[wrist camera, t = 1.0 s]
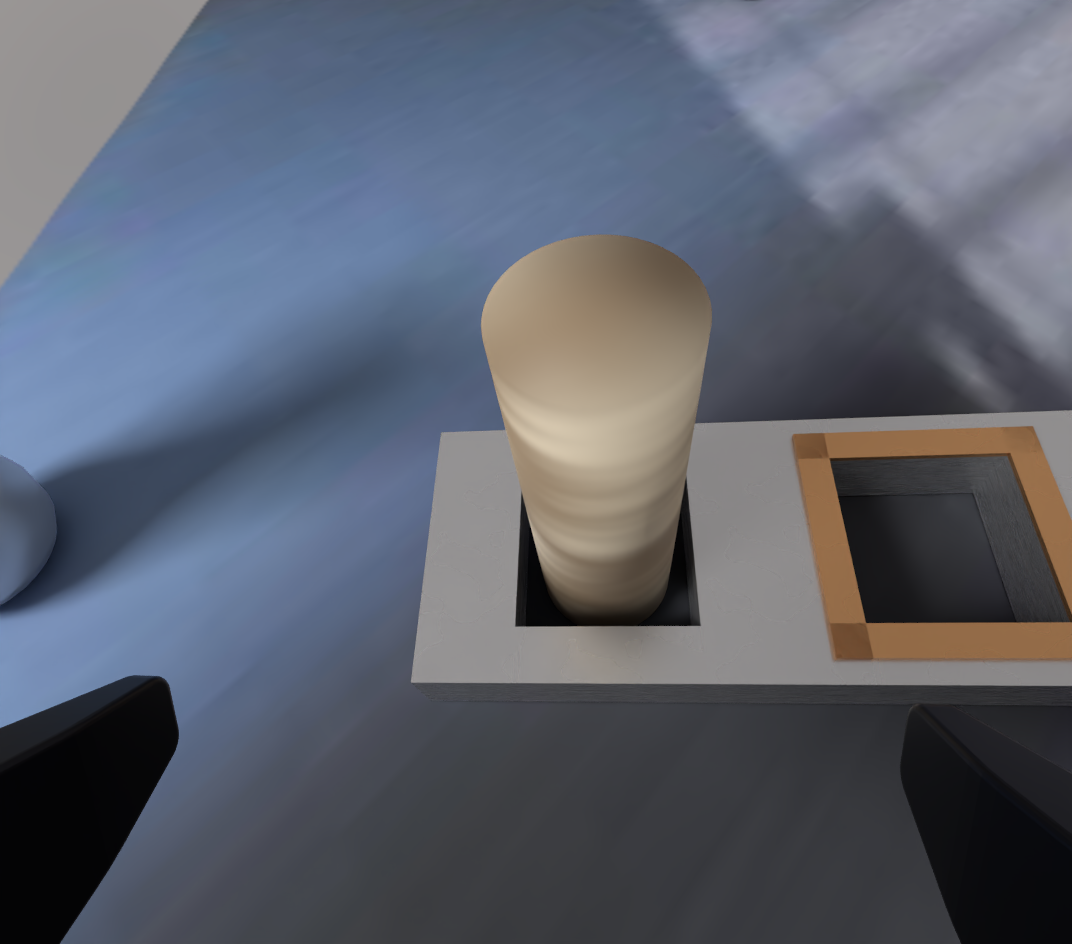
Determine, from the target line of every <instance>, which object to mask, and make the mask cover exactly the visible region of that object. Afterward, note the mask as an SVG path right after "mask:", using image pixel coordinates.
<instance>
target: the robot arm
mask: <svg viewBox="0 0 1072 944" xmlns="http://www.w3.org/2000/svg"><path fill="white" fill-rule="evenodd" d="M178 739H179V730H178V724H177V720H176V715H175V710H174V705H173V701H172V696H171V691H170V687H169V684H168V683H167V681H166V680H165V679H164V678H162V677H160V676H140V675H133V676H128V677H125V678H123V679H120V680H118V681H115V682H113V683H110V684H108V685H105V686H103V687H101V688H98V689H96V690H93V691H91V692H88V693H86V694H83V695H81V696H78V697H76V698H73V699H71V700H69V701H66V702H64V703H61V704H59V705H56V706H54V707H51V708H49V709H46V710H44V711H41V712H39V713H36V714H34V715H32V716H29V717H27V718H24V719H22V720H19V721H17V722H14V723H12V724H9V725H7V726H4V727H2V728H0V944H60V943H61V941H62V940H63V938H64V937H65V935H66V934H67V932H68V931H69V929H70V928H71V926H72V925H73V923H74V922H75V920H76V919H77V917H78V916H79V914H80V913H81V911H82V910H83V908H84V907H85V905H86V904H87V902H88V901H89V899H90V898H91V896H92V895H93V893H94V892H95V890H96V889H97V887H98V886H99V884H100V883H101V881H102V880H103V878H104V876H105V875H106V873H107V872H108V870H109V869H110V867H111V865H112V864H113V862H114V860H115V858H116V857H117V855H118V853H119V852H120V850H121V848H122V847H123V845H124V843H125V841H126V839H127V838H128V836H129V834H130V832H131V830H132V828H133V827H134V825H135V823H136V821H137V819H138V818H139V816H140V814H141V812H142V810H143V809H144V807H145V805H146V803H147V801H148V800H149V798H150V796H151V794H152V792H153V791H154V789H155V787H156V785H157V783H158V782H159V780H160V778H161V776H162V774H163V773H164V771H165V769H166V767H167V765H168V764H169V762H170V760H171V758H172V756H173V754H174V752H175V750H176V747H177V744H178ZM900 773H901V780H902V784H903V788H904V791H905V794H906V796H907V799H908V802H909V805H910V808H911V810H912V813H913V816H914V819H915V822H916V825H917V827H918V830H919V833H920V836H921V839H922V841H923V844H924V847H925V850H926V853H927V855H928V858H929V861H930V864H931V867H932V869H933V872H934V875H935V878H936V881H937V883H938V886H939V889H940V892H941V895H942V897H943V900H944V903H945V906H946V908H947V911H948V913H949V916H950V919H951V921H952V924H953V926H954V928H955V931H956V933H957V935H958V937H959V940H960V942H961V944H1072V773H1071V772H1069V771H1068V770H1066V769H1064V768H1062V767H1061V766H1059V765H1057V764H1055V763H1054V762H1052V761H1050V760H1048V759H1046V758H1045V757H1043V756H1041V755H1039V754H1038V753H1036V752H1034V751H1032V750H1031V749H1029V748H1027V747H1025V746H1024V745H1022V744H1020V743H1018V742H1016V741H1015V740H1013V739H1011V738H1009V737H1008V736H1006V735H1004V734H1002V733H1001V732H999V731H997V730H995V729H994V728H992V727H990V726H988V725H986V724H985V723H983V722H981V721H979V720H978V719H976V718H974V717H972V716H971V715H969V714H967V713H965V712H964V711H962V710H960V709H958V708H956V707H954V706H951V705H945V704H915V705H914V706H913V707H911V708H910V711H909V713H908V716H907V722H906V729H905V736H904V743H903V750H902V756H901V764H900Z"/></svg>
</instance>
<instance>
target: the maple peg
mask: <svg viewBox="0 0 1072 944" xmlns="http://www.w3.org/2000/svg"><path fill="white" fill-rule="evenodd" d="M711 324H712V309H711V303H710V298H709V296H708V293H707V290H706V288H705V286H704V284H703V283H702V281H701V279H700V278H699V276H698V275H697V274H696V273H695V271H694V270H693V269H692V268H691V267H690V266H689V265H688V264H687V263H686V262H685V261H683V260H682V259H681V258H679V257H678V256H676V255H675V254H674V253H672V252H670V251H668V250H666V249H664V248H663V247H660V246H658V245H655V244H653V243H651V242H647V241H644V240H640V239H637V238H632V237H626V236H618V235H588V236H579V237H574V238H568V239H565V240H561V241H557V242H554V243H552V244H549V245H546V246H544V247H541V248H539V249H537V250H535V251H533V252H531V253H530V254H528V255H526V256H525V257H523V258H522V259H520V260H519V261H517V262H516V263H515V264H514V265H512V266H511V267H510V268H509V269H508V270H507V271H506V272H505V273H504V274H503V275H502V276H501V277H500V278H499V280H498V281H497V282H496V283H495V285H494V286H493V288H492V290H491V291H490V293H489V295H488V297H487V300H486V302H485V305H484V309H483V313H482V320H481V331H482V339H483V343H484V347H485V351H486V354H487V358H488V362H489V366H490V370H491V374H492V378H493V382H494V386H495V390H496V393H497V397H498V401H499V405H500V409H501V413H502V417H503V421H504V425H505V428H506V432H507V436H508V440H509V444H510V448H511V452H512V456H513V460H514V464H515V467H516V471H517V475H518V479H519V483H520V487H521V491H522V495H523V499H524V503H525V506H526V510H527V514H528V518H529V522H530V526H531V530H532V534H533V538H534V542H535V545H536V549H537V553H538V557H539V561H540V565H541V569H542V573H543V577H544V581H545V584H546V588H547V591H548V594H549V596H550V598H551V600H552V602H553V604H554V605H555V607H556V608H557V609H558V610H559V611H560V613H561V614H563V615H564V616H565V617H566V618H567V619H569V620H570V621H571V622H573V623H575V624H577V625H579V626H636V625H638V624H640V623H641V622H643V621H644V620H646V619H647V618H648V617H649V616H651V615H652V614H653V613H654V611H655V610H656V609H657V608H658V606H659V605H660V604H661V602H662V600H663V598H664V596H665V593H666V590H667V586H668V581H669V575H670V569H671V563H672V557H673V551H674V545H675V539H676V533H677V527H678V521H679V515H680V509H681V503H682V497H683V491H684V485H685V479H686V473H687V467H688V461H689V455H690V449H691V443H692V437H693V431H694V425H695V419H696V413H697V407H698V401H699V395H700V389H701V383H702V377H703V371H704V365H705V359H706V353H707V347H708V341H709V335H710V329H711Z"/></svg>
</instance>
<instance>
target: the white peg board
mask: <svg viewBox="0 0 1072 944" xmlns="http://www.w3.org/2000/svg"><path fill="white" fill-rule="evenodd" d="M956 493H973V495H974V498H975V501H976V504H977V507H978V510H979V513H980V516H981V519H982V522H983V525H984V528H985V530H986V533H987V536H988V539H989V542H990V545H991V548H992V551H993V554H994V557H995V560H996V563H997V566H998V569H999V572H1000V575H1001V578H1002V581H1003V584H1004V587H1005V590H1006V593H1007V596H1008V599H1009V602H1010V605H1011V608H1012V611H1013V614H1014V617H1015V619H1016V622H1017V623H866V621H865V617H864V612H863V608H862V603H861V599H860V594H859V590H858V585H857V581H856V576H855V572H854V567H853V563H852V558H851V554H850V549H849V545H848V540H847V536H846V531H845V527H844V522H843V518H842V513H841V508H840V504H839V499H838V496H870V495H913V494H956ZM681 518H682V529H683V541H684V552H685V563H686V575H687V586H688V598H689V609H690V620H691V626H572V627H526V606H527V580H528V554H529V528H530V522H529V518H528V514H527V510H526V506H525V503H524V499H523V495H522V491H521V487H520V483H519V479H518V475H517V471H516V467H515V464H514V460H513V456H512V452H511V448H510V444H509V440H508V436H507V432H506V430H498V431H470V432H441V438H440V447H439V455H438V463H437V471H436V480H435V488H434V496H433V505H432V513H431V521H430V529H429V538H428V546H427V554H426V563H425V571H424V579H423V588H422V596H421V604H420V612H419V621H418V629H417V637H416V646H415V654H414V662H413V670H412V679H411V683H412V684H413V685H414V686H415V687H416V688H418V689H419V690H420V691H421V692H422V693H423V694H424V695H425V696H426V697H427V698H428V699H430V700H431V701H530V702H656V703H782V704H908V705H915V704H945V705H1034V706H1072V410H1070V411H1042V412H1013V413H985V414H956V415H927V416H899V417H870V418H842V419H813V420H784V421H756V422H727V423H699V424H695V425H694V431H693V437H692V443H691V449H690V455H689V461H688V467H687V473H686V479H685V485H684V491H683V497H682V503H681Z"/></svg>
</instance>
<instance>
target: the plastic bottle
mask: <svg viewBox="0 0 1072 944" xmlns="http://www.w3.org/2000/svg"><path fill="white" fill-rule="evenodd" d="M56 535H57V523H56V515H55V507H54V504H53V501H52V499H51V497H50V495H49V494H48V493H47V492H46V491H45V490H44V488H43V487H42V486H41V485H40V484H39V483H38V482H37V481H36V480H35V479H34V478H33V477H32V476H31V475H30V474H29V473H28V472H27V471H26V470H25V469H24V467H22V466H21V465H19V464H17V463H16V462H14V461H12V460H10V459H8V458H6V457H4V456H2V455H0V605H2V604H3V603H5V602H7V601H8V600H10V599H12V598H13V597H14V596H16V595H17V594H18V593H19V592H21V591H22V590H23V589H24V588H26V587H27V586H28V585H29V584H30V582H31V581H32V580H33V579H34V578H35V577H36V576H37V575H38V574H39V572H40V571H41V570H42V568H43V567H44V566H45V564H46V562H47V560H48V558H49V557H50V555H51V553H52V550H53V547H54V544H55V541H56Z"/></svg>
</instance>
